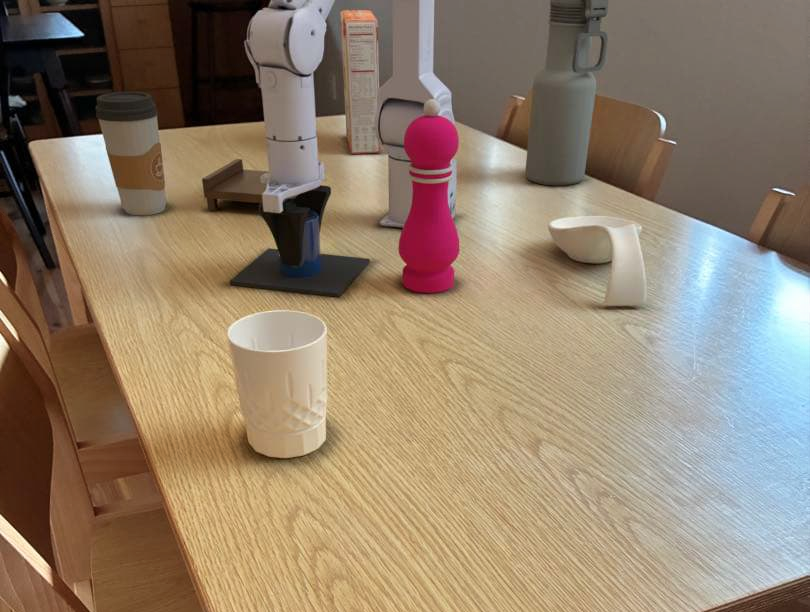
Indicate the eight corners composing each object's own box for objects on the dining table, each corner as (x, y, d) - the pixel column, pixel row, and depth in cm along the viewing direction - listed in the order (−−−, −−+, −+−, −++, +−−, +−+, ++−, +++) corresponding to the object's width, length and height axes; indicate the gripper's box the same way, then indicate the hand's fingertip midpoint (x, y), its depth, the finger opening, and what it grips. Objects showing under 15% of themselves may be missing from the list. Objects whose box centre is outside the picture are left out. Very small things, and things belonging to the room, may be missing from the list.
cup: (327, 264, 102) (324, 210, 97) (313, 279, 98) (309, 223, 94) (289, 260, 103) (284, 206, 98) (273, 274, 99) (267, 219, 95)
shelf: (310, 194, 127) (308, 164, 124) (281, 217, 118) (278, 185, 115) (240, 188, 129) (236, 158, 126) (206, 210, 120) (201, 178, 117)
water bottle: (597, 181, 133) (627, -25, 116) (554, 191, 129) (578, -22, 112) (555, 167, 140) (578, -29, 122) (512, 176, 136) (529, -27, 118)
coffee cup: (159, 219, 117) (138, 104, 107) (106, 215, 118) (81, 101, 109) (182, 203, 123) (165, 92, 114) (132, 199, 124) (110, 89, 115)
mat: (369, 262, 104) (369, 258, 103) (339, 297, 94) (339, 293, 94) (268, 252, 106) (268, 248, 106) (229, 285, 97) (229, 280, 97)
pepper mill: (464, 277, 100) (474, 95, 87) (448, 298, 94) (455, 108, 82) (409, 269, 101) (410, 90, 89) (390, 290, 96) (388, 103, 84)
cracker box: (344, 137, 157) (339, 9, 144) (375, 136, 158) (372, 9, 145) (348, 155, 146) (343, 18, 133) (381, 154, 147) (379, 18, 134)
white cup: (245, 417, 73) (230, 311, 66) (332, 413, 73) (326, 308, 67) (238, 465, 67) (221, 353, 60) (334, 461, 67) (327, 349, 61)
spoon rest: (537, 240, 110) (543, 185, 106) (622, 239, 111) (631, 184, 106) (576, 309, 92) (585, 246, 87) (677, 308, 92) (691, 244, 88)
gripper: (282, 120, 97) (292, 235, 105) (231, 148, 86) (246, 273, 94) (338, 124, 95) (343, 240, 104) (292, 152, 85) (302, 280, 93)
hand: (300, 256), depth 99 cm, fingers closed on cup, 5 cm apart
